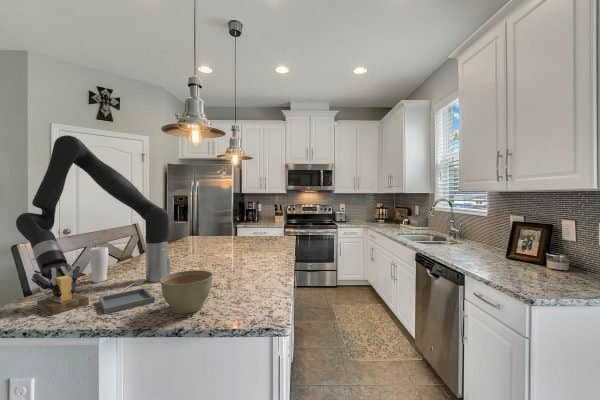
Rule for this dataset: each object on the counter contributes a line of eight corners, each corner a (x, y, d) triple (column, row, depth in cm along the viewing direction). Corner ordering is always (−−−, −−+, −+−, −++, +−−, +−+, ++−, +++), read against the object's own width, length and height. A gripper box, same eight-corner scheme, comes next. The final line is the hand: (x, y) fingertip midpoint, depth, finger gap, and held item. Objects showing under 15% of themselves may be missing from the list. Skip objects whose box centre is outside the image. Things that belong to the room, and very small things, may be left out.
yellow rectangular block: (65, 303, 98) (65, 275, 97) (71, 305, 95) (71, 277, 95) (54, 306, 95) (54, 277, 95) (61, 308, 93) (60, 279, 93)
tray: (144, 292, 109) (144, 287, 109) (154, 302, 98) (154, 297, 98) (99, 301, 99) (99, 296, 99) (104, 314, 88) (104, 308, 88)
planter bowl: (156, 307, 94) (155, 275, 93) (203, 296, 103) (203, 267, 103) (166, 324, 81) (166, 287, 81) (220, 310, 91) (219, 277, 90)
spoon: (147, 282, 123) (147, 278, 123) (112, 299, 103) (112, 295, 103) (139, 282, 123) (139, 278, 123) (102, 299, 103) (102, 294, 103)
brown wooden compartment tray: (72, 298, 102) (72, 289, 102) (88, 304, 97) (88, 294, 97) (37, 308, 94) (36, 298, 94) (53, 314, 88) (52, 304, 88)
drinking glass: (99, 283, 121) (98, 249, 121) (86, 282, 122) (85, 249, 122) (112, 279, 127) (111, 246, 127) (100, 278, 129) (99, 246, 129)
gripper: (26, 252, 92) (42, 294, 87) (76, 246, 105) (93, 282, 99) (20, 266, 95) (36, 308, 89) (69, 258, 107) (86, 294, 102)
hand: (66, 294), depth 94 cm, fingers closed on yellow rectangular block, 3 cm apart
